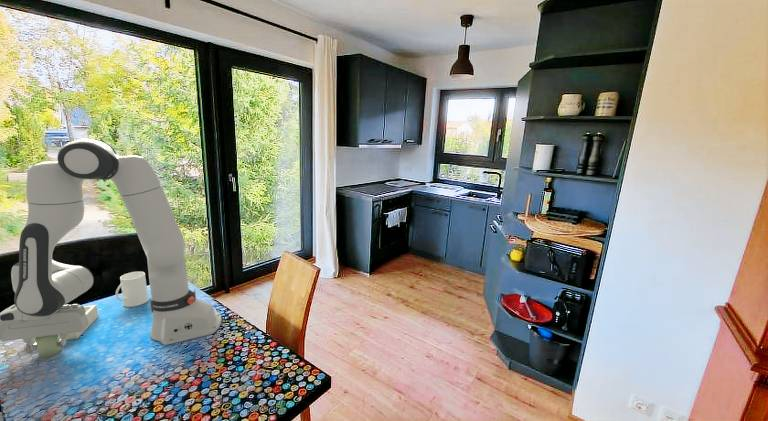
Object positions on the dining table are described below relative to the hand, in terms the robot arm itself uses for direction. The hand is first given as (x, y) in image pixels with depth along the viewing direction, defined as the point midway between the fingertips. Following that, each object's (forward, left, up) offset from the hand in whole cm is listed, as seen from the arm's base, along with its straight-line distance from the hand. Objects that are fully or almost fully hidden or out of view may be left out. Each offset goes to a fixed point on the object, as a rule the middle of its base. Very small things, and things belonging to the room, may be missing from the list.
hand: (49, 346), depth 98 cm
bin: (+3, -13, -2) cm, 13 cm away
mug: (-12, -28, -2) cm, 31 cm away
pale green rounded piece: (0, 0, -2) cm, 2 cm away
